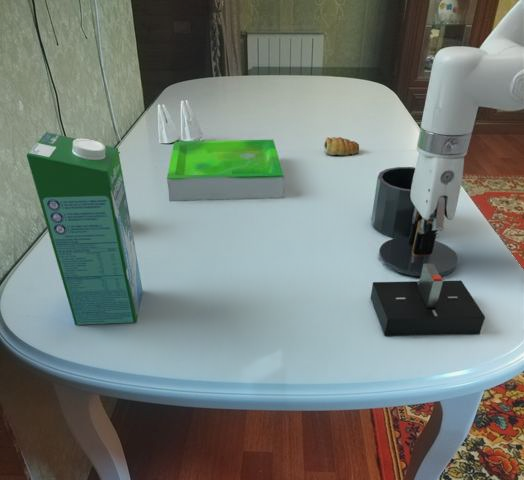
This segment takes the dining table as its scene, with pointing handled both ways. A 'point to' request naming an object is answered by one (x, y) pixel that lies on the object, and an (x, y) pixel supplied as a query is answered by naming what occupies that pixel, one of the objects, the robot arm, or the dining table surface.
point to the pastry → (340, 146)
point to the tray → (224, 170)
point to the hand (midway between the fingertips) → (419, 248)
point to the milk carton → (88, 227)
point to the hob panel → (425, 310)
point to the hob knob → (430, 285)
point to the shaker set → (188, 125)
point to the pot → (394, 202)
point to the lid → (417, 256)
